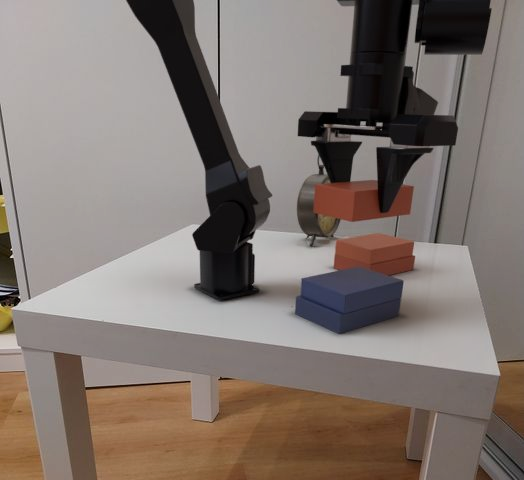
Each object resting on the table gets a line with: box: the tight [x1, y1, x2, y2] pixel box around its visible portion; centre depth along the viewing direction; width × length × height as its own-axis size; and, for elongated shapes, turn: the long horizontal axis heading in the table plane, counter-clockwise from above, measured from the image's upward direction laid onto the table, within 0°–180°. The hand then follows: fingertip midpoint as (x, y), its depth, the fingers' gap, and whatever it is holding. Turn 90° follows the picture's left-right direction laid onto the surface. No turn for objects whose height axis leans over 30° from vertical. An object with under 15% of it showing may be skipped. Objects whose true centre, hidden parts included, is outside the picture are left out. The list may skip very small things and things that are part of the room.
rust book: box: [313, 179, 415, 223], centre depth 61 cm, size 10×6×3 cm
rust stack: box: [333, 232, 416, 276], centre depth 81 cm, size 10×8×4 cm
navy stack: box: [294, 266, 405, 335], centre depth 62 cm, size 10×8×4 cm
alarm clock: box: [296, 153, 342, 248], centre depth 94 cm, size 11×5×16 cm, turn 148°
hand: (362, 208), depth 61 cm, fingers closed on rust book, 6 cm apart
